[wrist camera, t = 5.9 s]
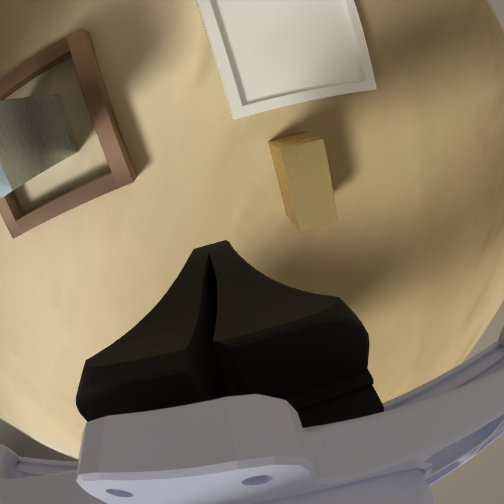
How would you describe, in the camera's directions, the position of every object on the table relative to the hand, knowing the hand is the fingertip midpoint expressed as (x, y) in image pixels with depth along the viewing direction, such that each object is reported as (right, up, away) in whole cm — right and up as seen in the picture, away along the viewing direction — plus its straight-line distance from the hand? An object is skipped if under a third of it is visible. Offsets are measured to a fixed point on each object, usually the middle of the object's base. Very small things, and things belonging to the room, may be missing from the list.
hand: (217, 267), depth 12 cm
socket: (-12, +8, +3) cm, 14 cm away
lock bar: (+4, +5, +8) cm, 10 cm away
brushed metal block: (-12, +8, +3) cm, 14 cm away
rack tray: (+3, +13, +3) cm, 14 cm away
